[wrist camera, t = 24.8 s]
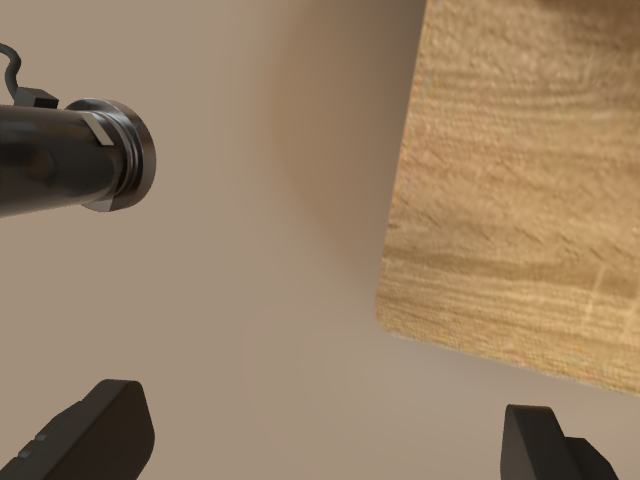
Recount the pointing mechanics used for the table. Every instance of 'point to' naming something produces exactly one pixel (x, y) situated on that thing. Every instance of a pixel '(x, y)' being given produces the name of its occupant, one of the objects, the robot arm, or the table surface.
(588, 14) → the table surface
